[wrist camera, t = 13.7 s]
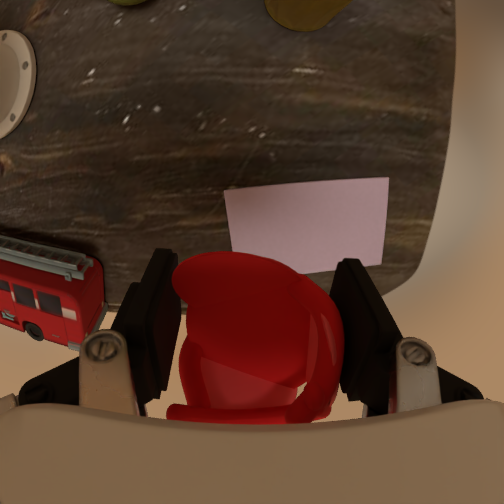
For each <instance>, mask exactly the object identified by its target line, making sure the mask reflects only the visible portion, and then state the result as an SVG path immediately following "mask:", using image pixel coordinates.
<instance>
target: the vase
mask: <svg viewBox="0 0 504 504" xmlns="http://www.w3.org/2000/svg"><path fill="white" fill-rule="evenodd" d="M351 1H352V0H264V2H265V6H266V9H267V11H268V13H269V14H270V16H271V17H272V18H273V19H274V20H275V21H276V22H278V23H279V24H280V25H282V26H284V27H286V28H288V29H291V30H295V31H313V30H317V29H320V28H322V27H324V26H325V25H326V24H327V23H328V22H329V21H330V20H331V19H332V18H333V17H334V16H335V15H336V14H337V13H338V12H339V11H341V10H342V9H343V8H344V7H346V6H347V5H348V4H349V3H350V2H351Z"/></svg>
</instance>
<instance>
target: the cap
mask: <svg viewBox="0 0 504 504" xmlns="http://www.w3.org/2000/svg"><path fill="white" fill-rule="evenodd" d="M172 285H173V288H174V290H175V292H176V293H177V294H178V296H179V297H180V298H181V299H182V300H183V301H185V302H186V303H187V304H188V308H187V314H186V328H187V334H188V335H187V337H186V339H185V341H184V343H183V345H182V348H181V351H180V355H179V374H180V379H181V383H182V387H183V390H184V394H185V397H186V400H187V405H182V404H172V405H170V406H169V408H168V409H167V412H166V418H167V420H177V421H187V422H200V423H217V424H248V425H270V424H301V423H311V422H312V421H314V420H319V419H323V418H326V417H327V416H328V415H329V414H330V412H331V405H332V404H333V402H334V401H335V398H336V396H337V392H338V388H339V380H340V375H341V370H342V365H343V358H344V346H345V338H344V328H343V322H342V319H341V316H340V313H339V310H338V309H337V307H336V305H335V303H334V301H333V300H332V299H331V298H330V297H329V295H328V294H327V293H326V292H325V291H324V290H322V289H321V288H320V287H319V286H318V285H317V284H315V283H314V282H313V281H312V280H310V279H309V278H308V277H307V276H305V275H303V274H299V273H297V272H296V271H295V270H293V269H292V268H290V267H289V266H287V265H285V264H283V263H281V262H279V261H277V260H274V259H271V258H267V257H262V256H258V255H253V254H248V253H242V252H232V251H217V252H208V253H203V254H199V255H195V256H193V257H190V258H188V259H186V260H184V261H183V262H182V263H180V264H179V265H178V266H177V267H176V269H175V270H174V272H173V275H172ZM305 382H307V384H306V386H305V387H304V391H303V392H302V393H301V394H300V396H298V397H297V398H296V395H297V387H299V386H300V385H302V384H304V383H305ZM295 398H296V399H295Z"/></svg>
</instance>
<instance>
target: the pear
mask: <svg viewBox="0 0 504 504" xmlns="http://www.w3.org/2000/svg"><path fill="white" fill-rule="evenodd" d="M108 1H109V2H111V3H114V4H117V5H135V4H139V3H142V2H144V1H146V0H108Z"/></svg>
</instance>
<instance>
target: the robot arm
mask: <svg viewBox="0 0 504 504" xmlns="http://www.w3.org/2000/svg"><path fill="white" fill-rule="evenodd" d="M35 81H36V59H35V55H34V50H33V48H32V46H31V43H30V42H29V40H28V39H27V38H26V36H24V35H23V34H21V33H20V32H17V31H14V30H2V31H0V139H1V138H3V137H5V136H7V135H8V134H9V133H11V132H12V131H13V130H14V129H15V128H16V127H17V126H18V124H19V123H20V122H21V120H22V119H23V117H24V115H25V114H26V111H27V109H28V107H29V105H30V102H31V99H32V95H33V92H34V87H35ZM177 266H178V256H177V253H172V249H161V248H156V249H155V251H154V253H153V256H152V258H151V260H150V262H149V264H148V266H147V269H146V271H145V273H144V275H143V277H142V280H141V282H140V283H138V282H133V283H131V285H130V287H129V289H128V291H127V293H126V295H125V297H124V299H123V302H122V304H121V306H120V308H119V310H118V313H117V315H116V317H115V319H114V322H113V324H112V326H111V329H101V330H97V331H94V332H92V333H90V334H89V335H87V336H86V337H85V338H84V339H83V341H82V343H81V345H80V351H79V357H76V358H74V359H72V360H70V361H68V362H66V363H64V364H62V365H60V366H58V367H56V368H53V369H51V370H49V371H47V372H45V373H43V374H41V375H39V376H37V377H35V378H32V379H30V380H29V381H27V382H26V383H25V384H24V385H23V386H22V388H21V390H20V392H19V395H17V396H15V395H14V394H13V393H12V394H10V395H7V396H5V397H3V398H0V504H504V403H501V402H498V401H492V400H490V399H488V398H486V400H484V398H483V395H482V394H481V392H480V391H479V390H478V389H477V388H476V387H475V386H473V385H472V384H470V383H468V382H466V381H464V380H463V379H461V378H459V377H457V376H455V375H453V374H451V373H449V372H447V371H445V370H444V369H442V368H440V367H438V366H437V363H436V357H435V353H434V351H433V350H432V348H431V347H430V346H429V345H428V344H427V343H426V342H424V341H422V340H421V339H417V338H415V337H406V338H403V336H402V335H401V332H400V330H399V329H398V327H397V325H396V323H395V321H394V319H393V317H392V315H391V314H390V312H389V310H388V308H387V306H386V304H385V303H384V301H383V299H382V297H381V296H380V294H379V292H378V290H377V289H376V287H375V285H374V283H373V282H372V280H371V278H370V276H369V275H368V273H367V271H366V269H365V268H364V266H363V264H362V263H361V261H360V260H359V259H358V258H344V259H343V260H342V261H339V262H338V264H337V267H336V271H335V275H334V279H333V283H332V287H331V291H330V294H329V297H330V298H331V299H332V300H333V301H334V303H335V305H336V307H337V309H338V310H339V313H340V316H341V319H342V322H343V328H344V338H345V346H344V358H343V365H342V370H341V375H340V380H339V383H340V386H341V390H342V392H343V393H347V397H348V401H359V400H360V401H361V402H362V403H364V406H363V413H362V418H358V419H350V420H341V421H330V422H318V423H301V424H270V425H248V424H217V423H200V422H187V421H177V420H167V419H159V418H151V417H148V414H147V409H146V403H148V402H150V401H151V400H152V399H160V395H161V391H166V390H167V386H168V381H169V375H170V370H171V365H172V360H173V355H174V350H175V345H176V340H177V336H178V331H179V326H180V322H181V301H180V297H179V296H178V294H177V293H176V292H175V290H174V288H173V285H172V275H173V272H174V270H175V269H176V267H177Z"/></svg>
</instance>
